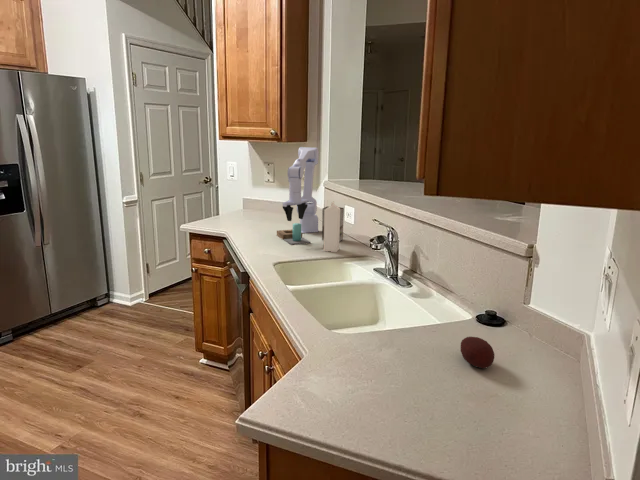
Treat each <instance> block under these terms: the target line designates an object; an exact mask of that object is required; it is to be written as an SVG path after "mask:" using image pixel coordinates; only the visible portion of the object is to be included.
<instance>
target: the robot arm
mask: <svg viewBox="0 0 640 480" xmlns="http://www.w3.org/2000/svg"><path fill="white" fill-rule="evenodd" d="M297 155H298V156H297V157H298V158H297V159H295V161H294V162H293V164H292V165H291V166H289V167H288V169H287V179H288V180H287V181H288V184H289V185H288V187H289V189H288V192H289V195H288V197H289V198H288V200H287V201H282V209H283V211H284V213H285V216H286V220H287V221H288V222H292V220H293V219H292V217H293V211H294V207H292V206H296V212H297V214H298V215H297V216H298V219H299V223H300V224H301V233H302V234H307V233H318V232H319V217H318V215H317V211H318V207H317V205H318V204H317V200H316V199H315V197H313V189H314V174H315V166H316V165H318V164H319V156H320V153H319V148H318V147H309V146H308V147H307V146H306V147H305V146H300V147H299V148H298V151H297ZM303 177H304V178H303ZM302 179H304V180H303V189H302Z"/></svg>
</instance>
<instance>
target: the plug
mask: <svg viewBox="0 0 640 480" xmlns="http://www.w3.org/2000/svg"><path fill="white" fill-rule="evenodd" d="M292 230H293V241H301V224H300V222H298V223H297V222H296V223H292Z"/></svg>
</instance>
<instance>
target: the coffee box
mask: <svg viewBox="0 0 640 480" xmlns="http://www.w3.org/2000/svg"><path fill="white" fill-rule="evenodd" d="M328 207H329V206H324V207H322V209H321V211H322V212H321V213H322V215H321V216H322V217H321V218H322V219H321V220H322V221H321V222H322V225H321V226H322V227H321V228H322V229H321V240H322V241H324V210H325V209H326V208H328ZM339 208H340V234H339V242H341V241H344V216H345V215H344V214H345V213H344V208H345V207H339Z"/></svg>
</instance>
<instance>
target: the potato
mask: <svg viewBox="0 0 640 480" xmlns="http://www.w3.org/2000/svg"><path fill="white" fill-rule="evenodd" d="M459 351H460V353H461V356H462V358H463V359H464V360H465V361H466V362H467V363H468V364H470V365H471V364H472V366H473V365H474V366H473V367H475V366H477V367H476V368H478V367H481V368H480V369H487V368H489V367H490V366H491V365H492V364H493V363H494V361H495V352H494V350H493V347H492V346H491V344H489V343H488V341H487V340H485V339H483V338H482V337H481V338H480V337H478V336H477V337H476V336H467V337H464V338H463V339H462V340H461V341H460V350H459ZM486 367H487V368H486Z"/></svg>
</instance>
